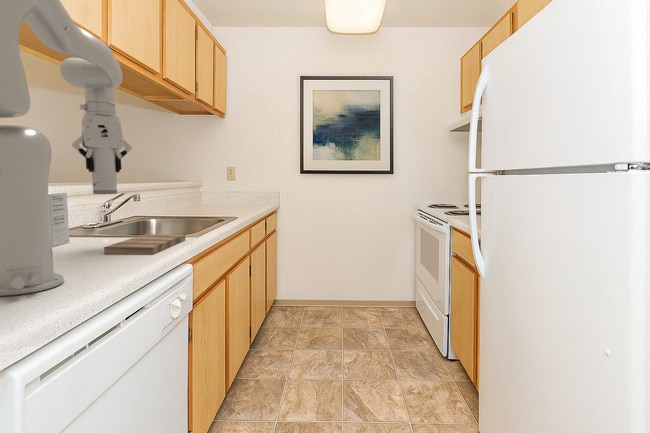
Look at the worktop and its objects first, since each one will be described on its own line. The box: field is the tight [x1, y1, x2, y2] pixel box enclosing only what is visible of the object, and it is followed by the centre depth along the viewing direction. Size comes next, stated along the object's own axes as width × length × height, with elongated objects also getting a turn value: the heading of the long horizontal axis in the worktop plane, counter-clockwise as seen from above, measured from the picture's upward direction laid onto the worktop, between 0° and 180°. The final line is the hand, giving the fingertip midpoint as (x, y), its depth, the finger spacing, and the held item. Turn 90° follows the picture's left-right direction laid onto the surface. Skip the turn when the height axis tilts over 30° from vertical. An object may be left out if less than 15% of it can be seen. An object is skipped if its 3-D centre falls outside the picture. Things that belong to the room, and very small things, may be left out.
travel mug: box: [91, 125, 118, 195], centre depth 111 cm, size 6×7×20 cm
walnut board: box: [103, 233, 186, 256], centre depth 118 cm, size 24×14×2 cm, turn 179°
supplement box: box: [48, 191, 70, 248], centre depth 119 cm, size 10×9×17 cm
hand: (104, 171), depth 112 cm, fingers closed on travel mug, 6 cm apart
